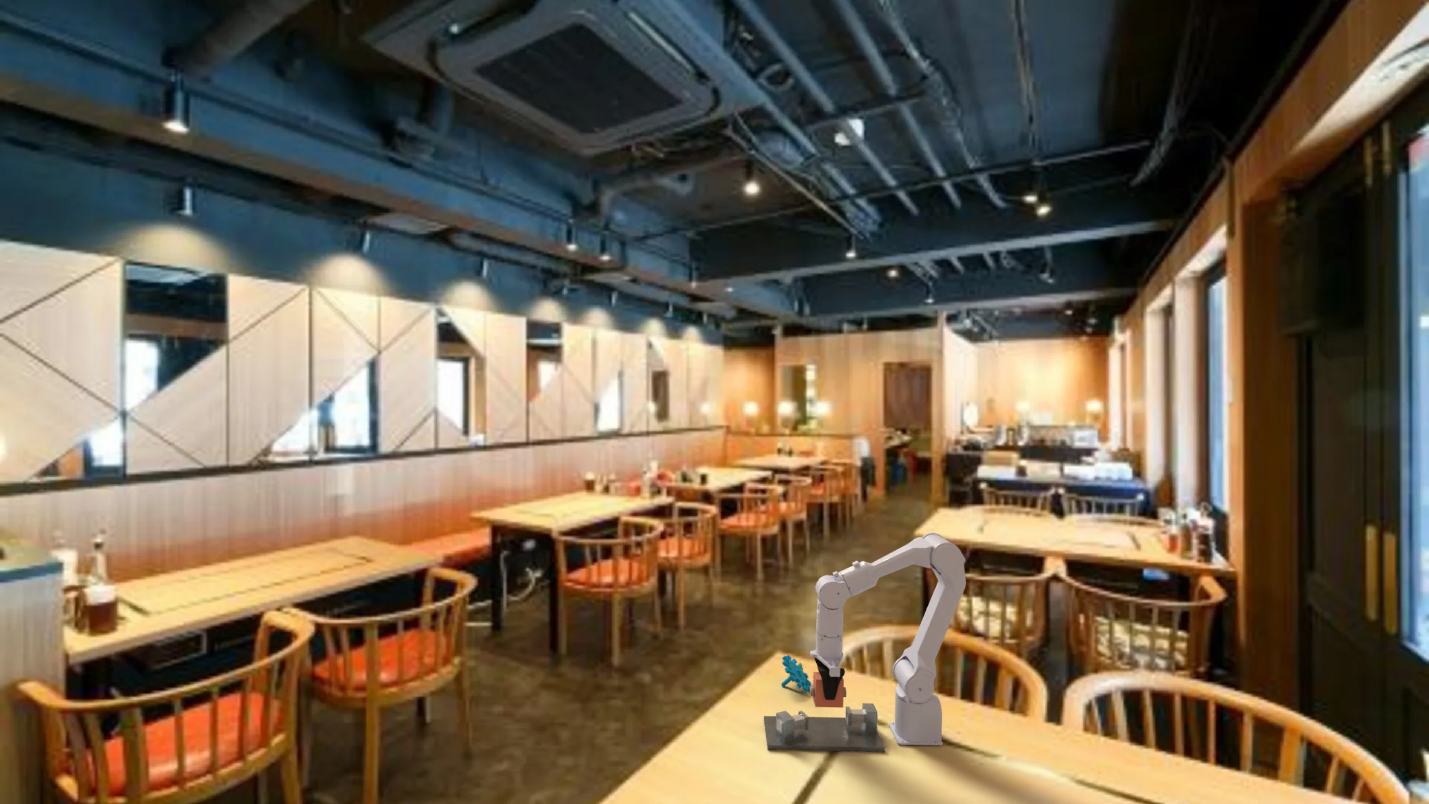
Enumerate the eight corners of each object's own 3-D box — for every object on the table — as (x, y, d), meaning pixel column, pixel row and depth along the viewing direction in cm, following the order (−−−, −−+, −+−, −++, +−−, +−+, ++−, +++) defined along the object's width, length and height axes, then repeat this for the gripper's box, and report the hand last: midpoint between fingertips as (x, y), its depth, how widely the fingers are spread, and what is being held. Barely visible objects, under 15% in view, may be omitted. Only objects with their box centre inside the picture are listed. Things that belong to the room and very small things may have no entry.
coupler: (843, 699, 138) (844, 672, 138) (846, 707, 135) (847, 680, 135) (809, 698, 138) (809, 671, 138) (811, 707, 135) (812, 679, 135)
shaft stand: (871, 722, 142) (872, 698, 142) (885, 752, 131) (885, 726, 130) (763, 720, 142) (764, 696, 142) (767, 749, 131) (768, 723, 131)
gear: (808, 694, 151) (781, 659, 154) (791, 708, 152) (764, 673, 156) (817, 680, 162) (791, 647, 165) (800, 694, 163) (775, 661, 166)
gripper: (806, 619, 143) (805, 678, 144) (816, 646, 129) (814, 711, 129) (837, 620, 143) (835, 678, 144) (850, 646, 129) (849, 711, 129)
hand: (828, 694), depth 137 cm, fingers closed on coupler, 4 cm apart
